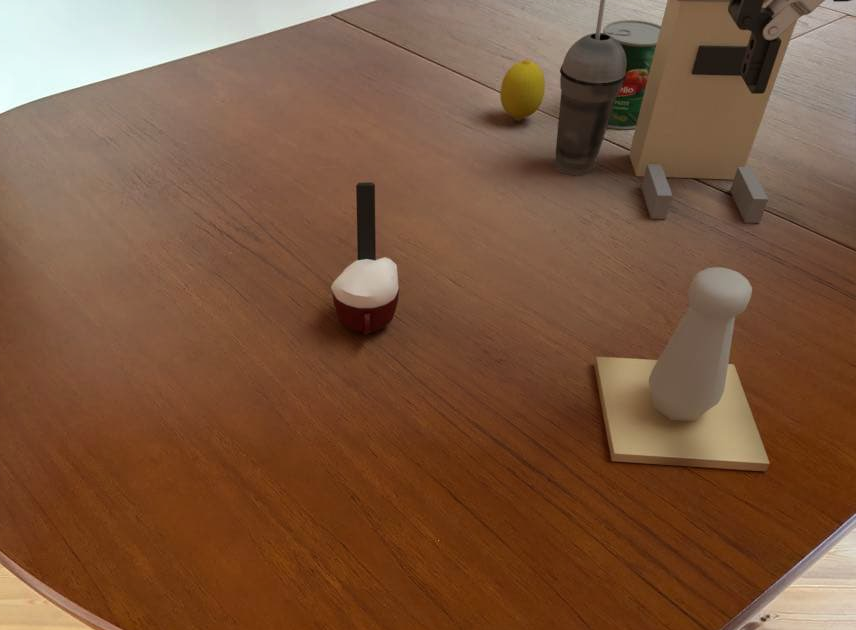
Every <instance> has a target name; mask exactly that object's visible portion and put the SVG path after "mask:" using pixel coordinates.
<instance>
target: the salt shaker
mask: <svg viewBox="0 0 856 630" xmlns="http://www.w3.org/2000/svg"><path fill="white" fill-rule="evenodd" d="M752 293H753V287H752V285H751V283H750V281H749V280H748V278H746V277H745V276H744V275H743V274H741V273H740V272H739V271H736V270H733V269H732V268H731V269H730V268H727V267H722V266H721V267H720V266H714V267H713V266H712V267H708V268H705V269H703V270H700V271H698V272H697V273H695V274H694V276H693V278H692V280H691V283H690V284H689V287H688V290H687V299H688V300H687V301H688V302H689V307H688V309H687V310H686V312H685V314H684V315H683V317H682V319H681V320H680V321H679V324H678V325H677V327H676V329H675V331H674V332H673V333H672V336H671V337H670V339H669V340H668V343H667V344H666V345H665V347H664V349H663V350H662V352H661V354H660V356H659V358H658V359H657V360H658V361H657V363H656V364H655V366H654V368H653V370H652V372H651V374H650V376H649V385H650V389H651V393H652V398H653V404H654V408H655V409H657V410H658V411H659V412H661V413H662V414H664V415H665V416H666V417H668V418H669V419H671V420H680V421H695V420H696V419H697V418H699V417H700V416H701V415H702V414H704V413H705V412H706V411H708V410H709V409H711V408H712V407H714V406H715V405H717V404H718V402H719V401H720V400H721V397H722V395H723V392H724V389H725V382H726V375H727V368H728V364H729V361H730V355H731V354H730V353H731V347H732V341H733V333H734V327H735V321H736V317H737V316H739V315H740V314H743V312H745V311H746V309H747V307H748V305H749V303H750V300H751V297H752Z"/></svg>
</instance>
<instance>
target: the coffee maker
mask: <svg viewBox="0 0 856 630" xmlns="http://www.w3.org/2000/svg"><path fill="white" fill-rule="evenodd" d="M767 1H768V0H764V3H763V5H764V4H765V3H766V2H767ZM729 3H730V0H666V4H665V9H664V13H663V17H662V20H661V25H660V26H661V28H660V32H659V36H658V40H657V44H656V48H655V52H654V56H653V60H652V64H651V68H650V72H649V76H648V80H647V84H646V88H645V92H644V96H643V100H642V104H641V108H640V112H639V116H638V120H637V124H636V128H635V129H634V133H633V137H632V141H631V145H630V148H629V153H628V156H629V159H630V161H631V165H632V168H633V171H634V174H635V176H636V177H643V178H642V181H641V186H640V188H641V191H642V194H643V198H644V202H645V204H646V207H647V210H648V214H649V216H650V219H651V220H666V219H667V215H668V212H669V209H670V206H671V202H672V199H673V193H672V190H671V188H670V185H669V181H668V180H667V178H677V179H678V178H679V179H701V180H703V179H704V180H730V181H731V180H732V183H731V186H730V188H729V192H730V194H731V196H732V198H733V200H734V203H735V204H736V207H737V210H738V211H739V214H740V216H741V218H742V220H743V222H744V224H745V223H746V224H749V223H750V224H760V223H761V221H762V218H763V216H764V213H765V210H766V207H767V205H768V202H769V197H768V195H767V193H766V191H765V189H764V187H763V184H762V183H761V181H760V179H759V178H758V175H757V174H756V172H755V170H754V168H753V167H749V166H747V162H748V160H749V157H750V155H751V152H752V148H753V145H754V143H755V140H756V137H757V135H758V132H759V129H760V126H761V123H762V120H763V117H764V114H765V112H766V109H767V106H768V103H769V101H770V97H771V94H772V93H773V89H774V86H775V83H776V81H777V78H778V75H779V73H780V69H781V66H782V64H783V61H784V58H785V55H786V54H787V53H786V52H787V49H788V47H789V45H790V41H791V39H792V35H793V33H794V30H795V27H796V25H797V22H798V20H797V21H796V22H794V23H793V24H792V25H791V26H790V27H789V28H788V29H787V30H786V31H784V32H783V33H782V34H781V35H780V36H779V38H780V39H781V41H782V42H781V45H780V48H779V51H778V54H777V57H776V60H775V63H774V66H773V69H772V72H771V75H770V78H769V81H768V84H767V87H766V90H765V92H764V93H763V94H752V93H751V92H750V90H749V89H748V87H747V85H746V83H745V82H744V80H743V78H742V77H741V70H740V69H741V66H742V62H743V59H744V56H745V52H746V49H747V46H748V43H749V39H750V36H751V31H749V30H741V29H739V28H738V26H737V25H736V23H735V22H734V20H733V19H732V17H731V16H730V14H729V12H728V6H729ZM763 5H762V6H763ZM746 166H747V167H746Z"/></svg>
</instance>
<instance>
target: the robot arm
mask: <svg viewBox="0 0 856 630" xmlns="http://www.w3.org/2000/svg"><path fill="white" fill-rule="evenodd" d="M825 1H826V0H768V1H767V2H766V3H765V4H764V5H763V3H764V0H730V3H729V6H728V12H729V14H730V16H731V17H732V19H733V20H734V22H735V23H736V25H737V26H738V28H739V29H741V30H749V31H751V36H750V39H749V43H748V46H747V49H746V52H745V56H744V59H743V62H742V66H741V69H740V70H741V77H742V78H743V80H744V82H745V83H746V85H747V87H748V89H749V90H750V92H751V93H752V94H763V93H764V92H765V90H766V87H767V84H768V81H769V78H770V75H771V72H772V69H773V66H774V63H775V60H776V57H777V54H778V51H779V48H780V45H781V42H782V41H781V39H780V38H779V36H780V35H781V34H782V33H783V32H784V31H786V30H787V29H788V28H789V27H790V26H791V25H792V24H793V23H794V22H796V21H797V22H798V20H799V19H800V18H801V17H804V16H806V15H807V16H808V15H809V14H811V13H813V12H814V11H815V10H816V9H817V8H818V7H819V6H821V4H822V3H824V2H825ZM850 1H852V0H832V2H834V3H835V2H837V3H838V2H840V3H841V2H850ZM762 5H763V6H762ZM797 22H796V23H797Z"/></svg>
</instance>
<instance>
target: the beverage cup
mask: <svg viewBox="0 0 856 630" xmlns="http://www.w3.org/2000/svg"><path fill="white" fill-rule="evenodd" d="M605 5H606V0H600V3H599V9H598V15H597V21H596V29H595V32H594V33H589V34H586V35H584V36H582V37H581V38H579V39H578V40H577V41H575V42H574V43H573V44H572V45H571V46H570V47H569V49H568V50H567V52H566V54H565V56H564V59H563V61H562V64H561V66H560V68H559V74H560V78H559V79H560V80H559V81H560V82H559V83H560V85H559V87H560V90H561V91H560V99H559V100H560V102H559V111H558V123H557V134H556V142H555V143H556V144H555V164H554V166H555V168H556V169H557V170H558V171H559V172H561V173H563V174H565V175H570V176H583V175H587V174H589V173H591V172H592V171H593V169H594V165H595V163H596V160H597V159H598V156H599V153H600V151H601V147H602V144H603V140H604V137H605V134H606V131H607V129H608V128H607V125H608V122H609V119H610V115H611V112H612V109H613V106H614V103H615V100H616V97H617V95H618V94H619V92H620V89H621V87H622V85H623V81H624V80H625V79H626V55H625V52H624V49H623V48H622V46H621V44H620V43H619V42H618V41H617V40H616V39H615V38H613V37H612V36H610V35H607V34H604V33H603V32H602V24H603V19H604V10H605Z"/></svg>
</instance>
